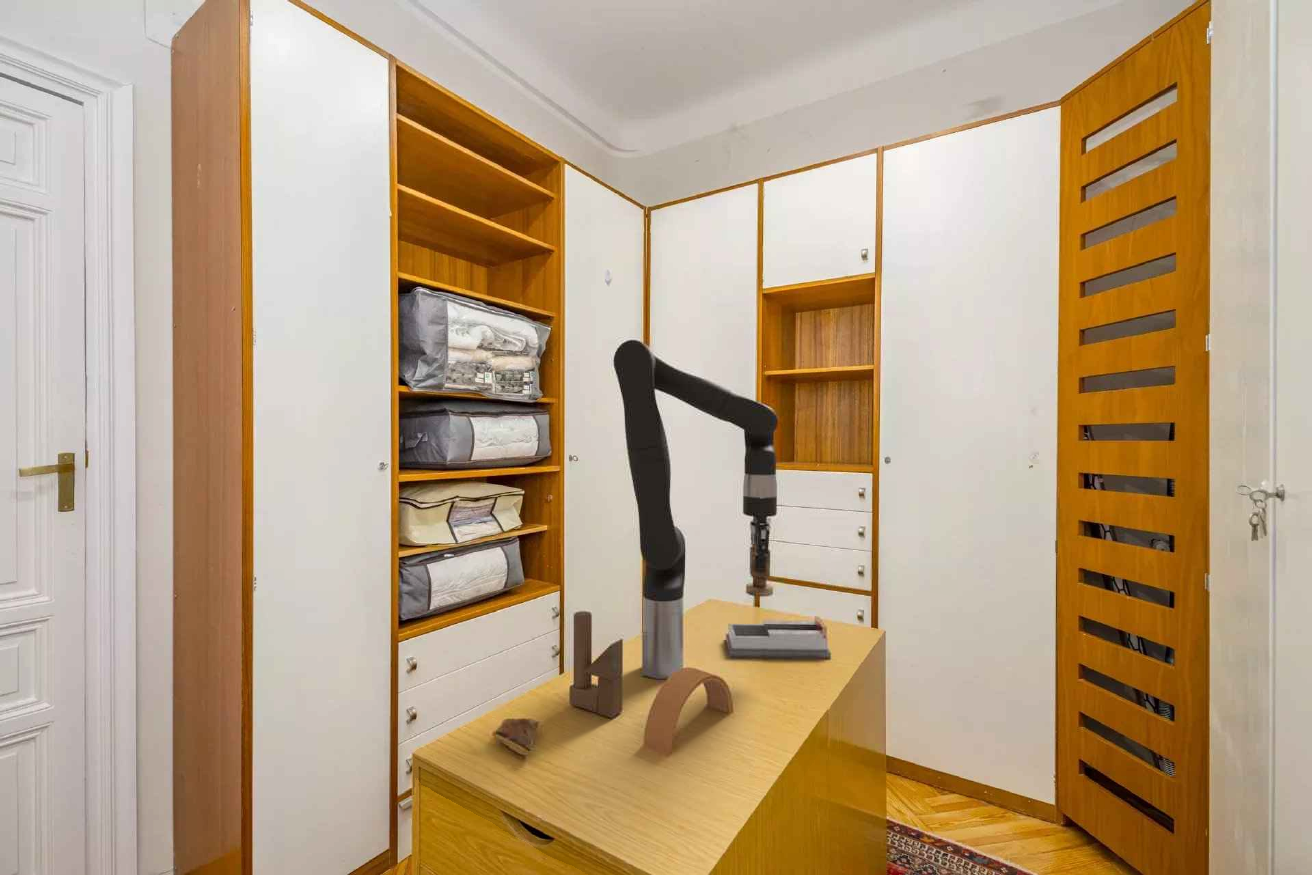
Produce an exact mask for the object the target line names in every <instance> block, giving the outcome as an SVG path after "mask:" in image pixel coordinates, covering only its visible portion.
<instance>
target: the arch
mask: <svg viewBox="0 0 1312 875" xmlns="http://www.w3.org/2000/svg"><path fill="white" fill-rule="evenodd" d="M700 685H703V687H704V690H705V693H706V694H705V695H706V704H707V706H708V707H711V708H713V709H716V710H718V711H721V712H725V713H728V714H732V713H733V712H734V702H733V696H732V692H731V690H730V687H729V685H728V683H727V681H725V680H724V678H722V677H721V676H718V675H716V674H713V673H710V672H707V671H704V670H701V669H697V668H695V667H689V666H687V667H683V668H682V669H680V670H678V671H676V672H675V673H673V674H672V675H671V676H670V677H669V678H668V679H665V681H664V683H663V684H662V685H661V686H660V688H659V690H658V692H657V693H656V694H655V698H654V699H653V700H652V703H651V707H650V709H649V712H648V715H647V719H646V722H645V728H644V734H643V745H644V746H646V747H648V748H650V749H652V750H655V751H657V752H660V753H661V754H663V755H666V756H670V755H672V754H673V740H674V735H675V732H676V731H675V730H676V726H677V723H678V720H679V718H680V715H681V712H682V711H683V708H684V705H686V703H687V701H688V699H689V698H690V697H691V695H692V694H693V692H694V691H695V690H696V689H697V688H698V687H700Z"/></svg>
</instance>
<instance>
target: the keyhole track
mask: <svg viewBox="0 0 1312 875" xmlns="http://www.w3.org/2000/svg"><path fill="white" fill-rule="evenodd" d="M827 629H828V628H827V626H826V625H825V623H824V621H822V619H821V618H820V617H819V616H816V615H815V616H814V620H773V619H771V620H770V619H766V620H764V619H763V620H762V623H727V633H725V641H726V642H725V643H726V646H727V651H728V655H729V658H740V659H742V658H743V659H744V658H746V659H748V658H749V659H755V658H756V659H765V658H766V659H829V660H830V659H832V652H831V651H830V650H829V648H828V646H829V644H828V643H829V642H828V640H829V639H828V637H827V636H828V635H827V633H828V632H827V631H828V630H827Z"/></svg>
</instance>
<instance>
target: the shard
mask: <svg viewBox="0 0 1312 875" xmlns="http://www.w3.org/2000/svg"><path fill="white" fill-rule="evenodd" d="M539 725H540V721H539V720H535V719H531V718H505V719H503V720H502V722H501V723H500V726H499V727H498V728H497V729H496V730H495V731H493V733H492V738H493V739H494V740H495V741H499V742H501V743H502V744H503V745H506V746H507V747H508V748H510V749H511V750H513V751H515V752H516V753H517V754H520V755H524V756H526V757H529V758H530V757H531V754H532V748H533V744H534V740H535V739H536V735H537V733H538V730H539V727H540V726H539Z"/></svg>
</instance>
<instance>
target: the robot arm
mask: <svg viewBox="0 0 1312 875" xmlns="http://www.w3.org/2000/svg"><path fill="white" fill-rule="evenodd" d="M613 355H614V356H613V367H614V371H615V374H616V377H617V380H618V381H617V382H618V385H619V389H620V393H621V397H622V402H623V412H624V414H623V415H624V429H625V430H624V431H625V442H626V450H627V457H628V464H629V469H630V474H631V481H632V486H633V492H634V495H635V498H636V499H635V500H636V505H637V512H638V513H637V514H638V526H639V528H638V529H639V548H640V554H641V556H642V558H643V560H644V562H645V574H644V580H643V585H642V633H641V675H642V676H643V677H650V678H652V679H659V680H667V679H668V678H669V677H670V676H671V675H672V674H673V673H675V672H676V671H678V670H680V669H682V668H684V592H685V591H684V590H685V589H684V588H685V579H686V540H685V537H684V534H683V532H682V530H680V529H679V528H678V527H677V526H675V524H674V519H673V515H672V508H671V477H672V476H671V475H672V474H671V473H672V471H671V458H670V451H669V445H668V440H667V435H666V431H665V427H664V424H663V419H662V417H661V413H660V410H659V408H658V403H657V399H656V391H659V392H662V393H665V394H667V395H669V396H670V397H673V398H676V399H678V400H680V401H681V402H683V403H685V404H686V405H689V406H691V407H693V408H695V409H697V410H699V411H701V412H703V413H705V414H708V415H710V416H711V417H713V418H717V420H720V421H724V422H727V423H731V424H733V425H734V426H736V427H739V429H740V428H741V430H743V434H744V435H743V437H744V446H745V447H744V448H745V450H744V451H745V454H744V476H743V482H742V483H743V485H742V487H743V489H742V491H743V492H742V513H743V515H745V516H747V517H752V520H751V521H750V522H749V529H750V541H751V542H750V545H751V547H755V555H756V568H755V570H756V572H757V573H765V572H766V556H767V555H768V553H769V551H768V548H769V545H770V544H769V543H770V541H769V540H770V528H771V527H770V524H769V523H768V521H767V518H768V517H769V518H770V517H775V516H776V515H777V514H778V513H777V512H778V505H777V504H778V482H777V475H776V474H777V456H776V451H775V449H774V447H775V444H774V440H775V436H774V435H775V434H774V433H775V431H776V430H777V427H779V426H778V425H779V419H778V418H779V417H778V415H777V413H776V411H775V410H774V409H773V408H771V407H770V406H768V405H766V404H764V403H762V402H758V401H757V400H754V399H750V398H747V397H745V396H742V395H740V394H738V393H736V392H735V391H733V390H730V389H728V388H727V387H724V386H722V385H719V384H718V383H715V382H712V381H711V380H709V379H705V378H703V377H699V376H697V375H693V374H691V373H687V372H684V371H682V370H680V369H678V368H675V367H674V366H672V365H670V364H668V363H667V362H665V361H663V360H662V359H660V358H658V356H656V355H654V353H653V351H652V349H651V348H650V347H649V346H648V345H647V344H646V343H644V342H642V341H641V340H636V339H629V340H626V341H624V342H622V343H621V344H619V346H618V347H617V349H616V351H615V352H614V354H613ZM759 547H764V549H759Z"/></svg>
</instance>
